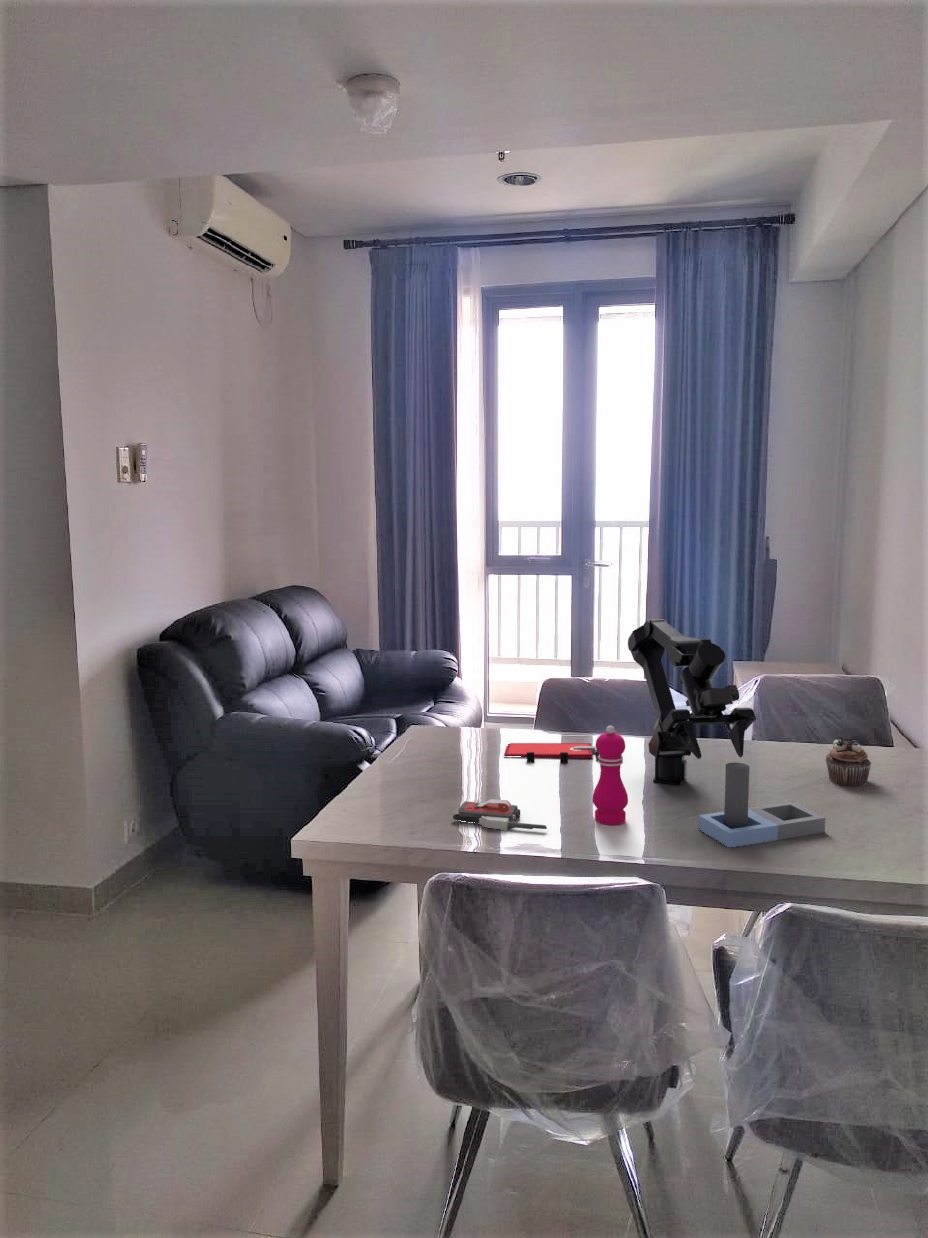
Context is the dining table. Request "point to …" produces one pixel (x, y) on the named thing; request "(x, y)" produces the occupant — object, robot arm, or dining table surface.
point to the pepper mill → (610, 780)
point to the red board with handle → (551, 750)
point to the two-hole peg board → (764, 824)
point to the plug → (736, 795)
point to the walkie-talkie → (493, 814)
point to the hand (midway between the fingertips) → (720, 757)
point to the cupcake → (848, 763)
